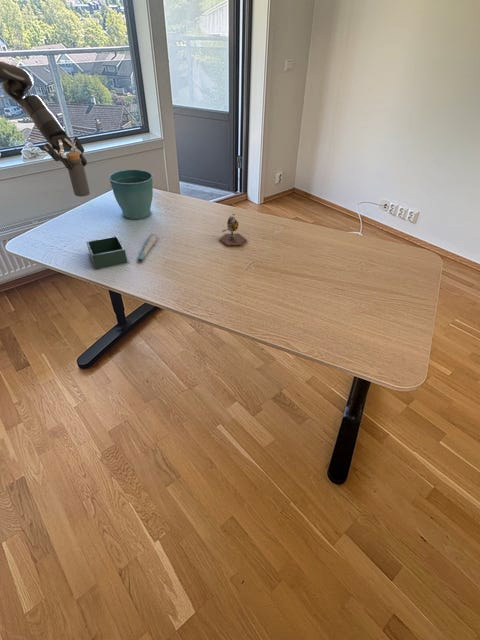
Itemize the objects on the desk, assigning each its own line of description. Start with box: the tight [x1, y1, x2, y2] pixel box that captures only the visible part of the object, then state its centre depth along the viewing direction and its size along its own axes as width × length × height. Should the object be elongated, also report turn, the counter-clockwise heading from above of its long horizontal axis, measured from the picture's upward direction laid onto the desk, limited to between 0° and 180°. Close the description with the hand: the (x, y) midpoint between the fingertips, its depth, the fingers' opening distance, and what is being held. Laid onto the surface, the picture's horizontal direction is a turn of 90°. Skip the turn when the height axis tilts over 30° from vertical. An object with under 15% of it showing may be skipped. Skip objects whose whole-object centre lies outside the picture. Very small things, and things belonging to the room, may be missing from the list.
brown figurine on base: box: [219, 213, 247, 247], centre depth 139 cm, size 11×9×12 cm
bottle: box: [65, 151, 91, 198], centre depth 133 cm, size 6×6×15 cm
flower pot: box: [108, 169, 154, 220], centre depth 152 cm, size 18×18×17 cm
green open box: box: [86, 235, 128, 270], centre depth 126 cm, size 11×11×6 cm
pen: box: [138, 232, 158, 263], centre depth 133 cm, size 19×3×3 cm, turn 175°
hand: (78, 166), depth 130 cm, fingers closed on bottle, 5 cm apart
